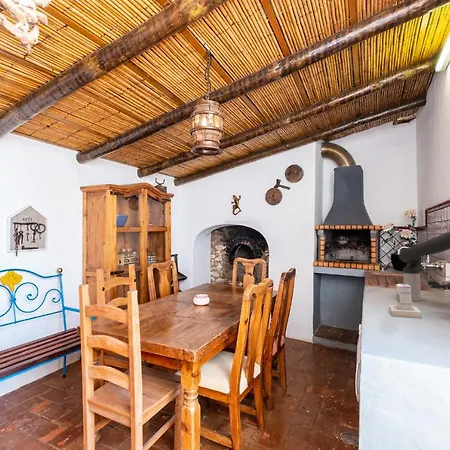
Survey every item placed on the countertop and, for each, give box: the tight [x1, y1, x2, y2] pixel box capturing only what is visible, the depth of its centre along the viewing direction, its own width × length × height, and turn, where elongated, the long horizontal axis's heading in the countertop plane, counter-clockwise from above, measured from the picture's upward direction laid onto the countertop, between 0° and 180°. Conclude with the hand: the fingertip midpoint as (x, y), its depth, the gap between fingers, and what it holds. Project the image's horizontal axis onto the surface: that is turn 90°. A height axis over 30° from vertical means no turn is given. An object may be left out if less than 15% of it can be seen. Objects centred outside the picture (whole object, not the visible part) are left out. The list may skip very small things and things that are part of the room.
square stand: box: [388, 304, 423, 319], centre depth 159 cm, size 13×13×3 cm
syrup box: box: [395, 283, 413, 311], centre depth 159 cm, size 6×6×14 cm
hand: (429, 284), depth 157 cm, fingers open, 8 cm apart
